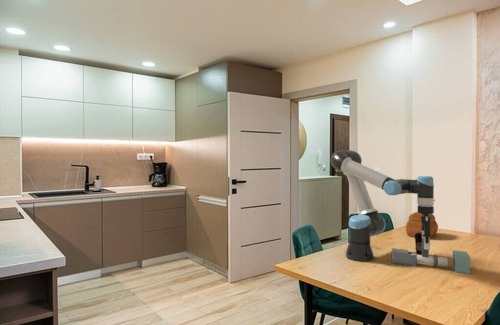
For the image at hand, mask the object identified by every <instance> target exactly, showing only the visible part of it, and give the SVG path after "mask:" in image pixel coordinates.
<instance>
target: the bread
mask: <svg viewBox="0 0 500 325" xmlns="http://www.w3.org/2000/svg"><path fill="white" fill-rule="evenodd" d="M428 215H429V216H430V235H431V237H430V238H432V237H433V236H436V235H437V233H438V231H439V230H438V228H439V225H438V223H437V221H436V216H435V215H434V213H433V214H428ZM421 216H422V214H421V213H418V211H416V212H412V214H410V215H409V216H408V221H407V222H406V225H405V232H406V235H407V236H409V237H412V238H415V234H416V233H418V232H422V231H423V230H422V228H421V227H422V221H421V220H422V219H421Z"/></svg>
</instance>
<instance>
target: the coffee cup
mask: <svg viewBox="0 0 500 325" xmlns="http://www.w3.org/2000/svg"><path fill="white" fill-rule="evenodd" d="M430 238H432V237H431V236H430ZM414 242H415V252H416V255H422V232H418V233H416V234H415V237H414Z"/></svg>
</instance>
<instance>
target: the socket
mask: <svg viewBox="0 0 500 325" xmlns="http://www.w3.org/2000/svg"><path fill="white" fill-rule="evenodd" d="M452 269H453V271H454V273H457V274H458V273H460V274H465V275H466V274H468V275H470V274H471V256H470V255H469V253H468V252H467V251H463V250H452Z"/></svg>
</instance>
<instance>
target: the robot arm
mask: <svg viewBox="0 0 500 325" xmlns="http://www.w3.org/2000/svg"><path fill="white" fill-rule="evenodd" d="M329 161H330V164H331V166H332V168H334V169H336V170H338V171H340V172H342V174H343V175H345V176H346V178H347V180H348V184H349V187H350V189H351V192H352V195H353V197H354V201H355V203H356V205H357V210H358V212H359V213H358V214H355V215H351V216H350V217H349V219H348V244H347V247H346V250H345V258H347V259H348V260H352V261H355V262H370V261H373V260H374V258H375V257H374V256H375V255H374V252H373V249H372V246H371V237H374V236H377V235H379V234H382V233H383V232H384V231H385V229H386V226H387V225H386V224H387V223H386V220H385V218H384V217H383V216H382V215H381V214H379V211H378V210H377V209H376V208H374V205H373V203H372V200H371V197H370V195H369V192H368V189H367V186H366V184H365V182H367V183H368V184H371V185H372V186H375V187H376V188H379V189H381V190H383V191H384V193H385V194H387V195H388V196H398V195H403V194H416V195H417V196H416V199H417V200H416V201H417V202H416V203H417V212H418V213H421V214H422V216H421V219H422V220H421V221H422V227H421V228H422V230H423V231H422V238H424V249H427V250H429V251H430V250H431V237H430V236H431V235H430V216H429V215H428V214H433V215H434V213H435V210H434V209H435V207H434V203H435V202H436V199H435V198H434V188H435V184H434V177H433V176H430V175H429V176H427V175H419V176H418V175H417V177H416V179H408V178H398V179H394V178H392V177H390V176H388V175H386V174H383V173H382V172H379V171H377V170H375V169H372V168H371V167H367V166H366V165H363V164H362V161H363V160H362V157H361V155H360V153H359V152H358V151H355V150H351V149H349V150H340V149H339V150H337V151H334V152H333V153H332V154H331V156H330V160H329Z"/></svg>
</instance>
